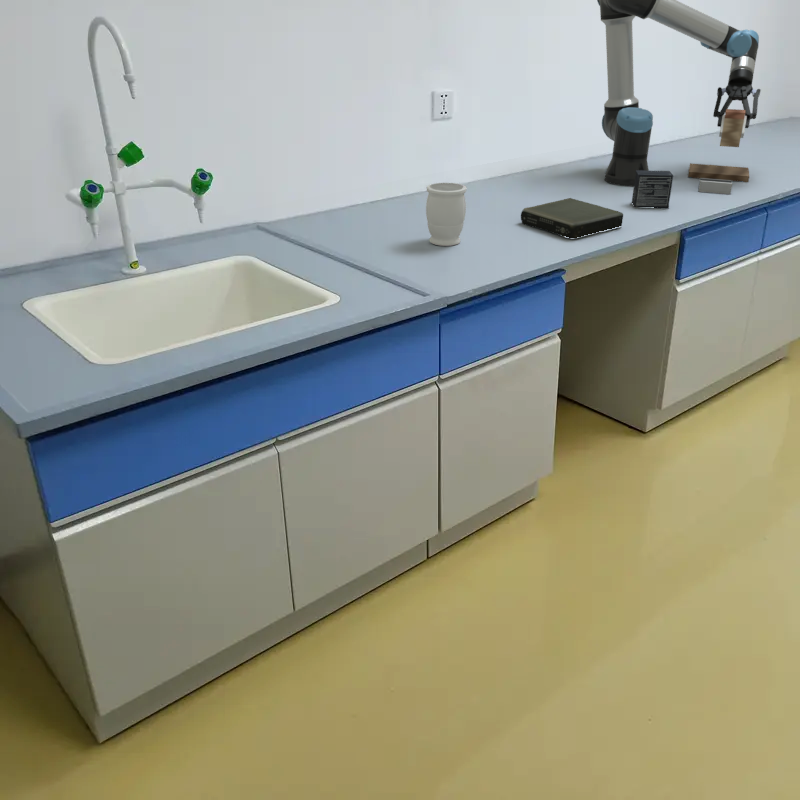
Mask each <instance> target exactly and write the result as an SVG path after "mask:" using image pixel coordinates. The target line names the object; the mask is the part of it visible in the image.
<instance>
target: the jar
mask: <svg viewBox="0 0 800 800" xmlns="http://www.w3.org/2000/svg"><path fill="white" fill-rule="evenodd" d="M467 189H468V188H467V186H466V185H464V184H461V183H455V182H438V183H437V182H436V183H435V182H434V183H431V184H428V185H427V186H426V191H427V193H428V194H427V197H426V205H425V214H426V221H427V229H428V232H429V234H430V235H431V236H430V238H429V242H430V243H431V244H433V245H436V246H441V247H450V246H451V247H452V246H456V245H458V244H460V243H461V238H460V236H461V233H462V231H463V228H464V223H465V217H466V212H467V202H466V196H465V193H466V192H467Z"/></svg>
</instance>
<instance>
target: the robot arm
mask: <svg viewBox="0 0 800 800" xmlns="http://www.w3.org/2000/svg"><path fill="white" fill-rule="evenodd" d="M597 4H598V6H599V10H600V13H599V14H600V21H601V22H602V23H603V24H604V25H605V37H606V38H605V40H606V41H605V43H606V46H605V47H606V70H607V71H606V72H607V95H608V96H607V97H608V98H607V100H606V101H605V102H604V104H603V105H604V106H603V107H604V108H603V110H604V111H603V112H604V114H603V116H602V119H601V129H602V130H603V132H604V134H605V136H606V137H607V138H608V139H610V140H611V141H613V149H612V155H611V159H610V162H609V164H608V165H607V168H606V171H605V172H604V176H603V177H604V182H607V183H608V184H612V185H616V186H622V187H623V186H625V187H634V182H635V174H636V170H643V171H650V170H649V164H648V156H649V155H648V154H649V147H650V141H651V135H652V127H653V125H654V124H653V123H654V121H653V118H654V115H653V113H652V112H651V111H650V110H649V109H644V108H641V107H640V106H639V103H640V102H639V99H638V98H637V97H636V96H635V91H634V90H635V89H634V88H635V87H634V43H633V40H634V39H633V21H634V19H635V18H636V17H637V18H640V19H642V20H645V19H651V20H653V21H654V22H657V23H659V24H662V25H664V26H665V27H668V28H670V29H672V30H674V31H676V32H679V33H681V34H683V35H684V36H685V35H686V36H687V37H690V38H692V39H694V40H696V41H697V42H700V46H702V47H704V48H706V49H707V50H711V51H713V52H716V53H719V54H721V55H724V56H727V58H731V63H730V70H729V76H728V80H727V81H728V83H727V85H726V87H723V88H722V87H720V86H719V87H718V88H717V93H716V95H717V98H716V102H715V105H714V110H713V115H712V116H713V118H718V119H717V127H718V128H719V127H720V129H719V133H718V134H719V136H718V137H719V138H721V136H722V131H723V125H724V119H725V113H726V109H729V107H730V105H731V104H732V102H733V101H740V102H741V105H742V108H743V110H745V117H744V123H743V128H742V133H741V138H740V139H744V136H745V129H748V128H749V127H750V121H751V120H755V119H756V118H757V114H758V107H759V106H758V104H759V97H760V96H761V95H760V94H761V91H762V89H760V88H757V89H754V88H753V80H754V73H755V66H756V59H757V55H758V49H759V43H760V37H759V36H760V35H759V34H758V33H757V31H756V30H754V29H750V30H748V29H743V30H742V29H741V30H739V29H737V28H735V27H733V26H731V25H729V24H726V23H725V22H723V21H721V20H719V19H716V18H714V17H712V16H710V15H708V14H706V13H704V12H702V11H699V10H698V9H695V8H693V7H692V6H689V5H687V4H685V3H683V2H681V1H679V0H597ZM725 93H726V95H727V96H728V97H727V99H726V101H725V102H724V104H723V106H722V107H721V109H720V105H721V102H722V98H723V96H724V94H725ZM751 94H752V97H753V100H752V112H751V108H750V105H749V100H748V97H749V96H750V95H751Z"/></svg>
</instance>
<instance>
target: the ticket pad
mask: <svg viewBox="0 0 800 800" xmlns="http://www.w3.org/2000/svg"><path fill="white" fill-rule="evenodd" d="M724 115H725V119H724V125H723V131H722V136H721V137H720V142H719V147H727V148H728V147H729V148H740V143H741V139H742V138H741V133H742V128H743V123H744V117H745V110H744V109H734V108H733V109H731V108H728V109H726V112H725V114H724Z"/></svg>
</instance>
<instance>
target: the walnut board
mask: <svg viewBox="0 0 800 800" xmlns="http://www.w3.org/2000/svg"><path fill="white" fill-rule="evenodd" d="M688 177H692V178H691V179H700V178H709V179H722V180H732V182H739V181H743V183H749V179H750V171H749V167H744V166H743V167H741V166H731V165H730V166H729V165H715V164H702V163H689V167H688V174H687V178H688Z"/></svg>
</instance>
